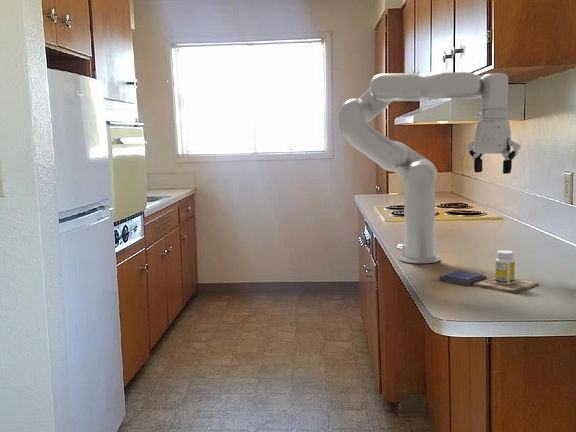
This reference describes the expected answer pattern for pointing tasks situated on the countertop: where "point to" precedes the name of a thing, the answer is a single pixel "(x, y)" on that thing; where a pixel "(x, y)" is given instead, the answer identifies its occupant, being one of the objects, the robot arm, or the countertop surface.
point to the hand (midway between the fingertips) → (492, 172)
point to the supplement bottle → (504, 267)
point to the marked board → (512, 288)
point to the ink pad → (462, 278)
